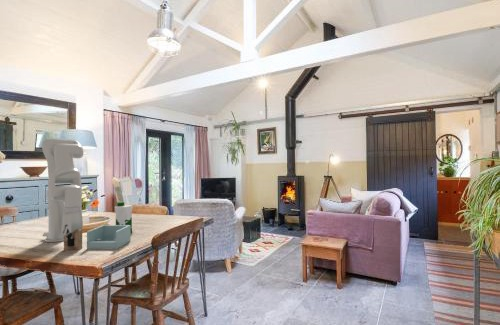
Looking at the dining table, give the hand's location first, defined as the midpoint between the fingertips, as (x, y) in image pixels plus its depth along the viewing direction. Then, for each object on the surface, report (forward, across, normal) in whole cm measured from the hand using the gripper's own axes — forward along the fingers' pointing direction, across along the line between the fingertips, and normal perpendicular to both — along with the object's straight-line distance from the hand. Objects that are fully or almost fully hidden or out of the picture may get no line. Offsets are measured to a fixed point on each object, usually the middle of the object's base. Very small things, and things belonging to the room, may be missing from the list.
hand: (73, 244), depth 140 cm
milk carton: (+2, -30, +12) cm, 32 cm away
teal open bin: (+2, -8, +15) cm, 17 cm away
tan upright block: (+2, 0, 0) cm, 2 cm away
